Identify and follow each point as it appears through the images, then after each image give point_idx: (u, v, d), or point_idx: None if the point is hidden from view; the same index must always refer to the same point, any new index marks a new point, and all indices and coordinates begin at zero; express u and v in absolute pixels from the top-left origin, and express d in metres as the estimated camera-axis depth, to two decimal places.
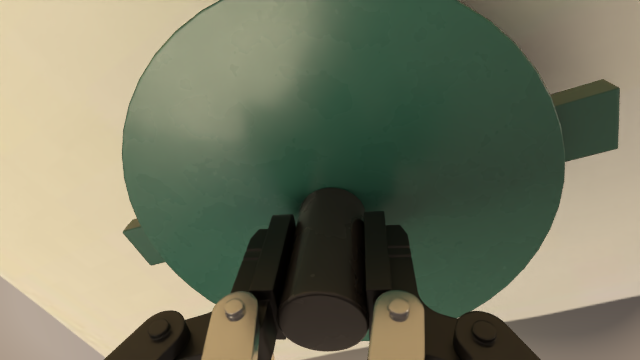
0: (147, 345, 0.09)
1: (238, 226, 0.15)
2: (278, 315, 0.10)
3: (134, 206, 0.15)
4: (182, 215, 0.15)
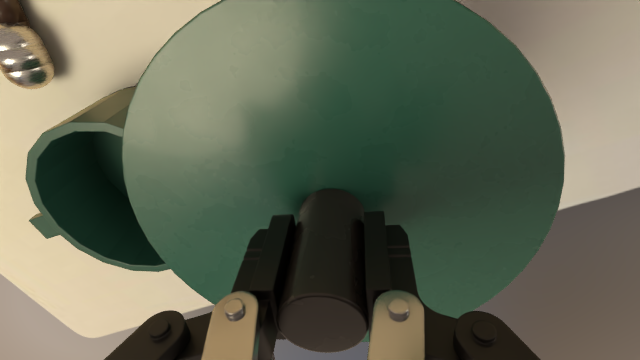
0: (147, 345, 0.09)
1: (238, 227, 0.15)
2: (277, 316, 0.10)
3: (134, 207, 0.15)
4: (182, 216, 0.15)
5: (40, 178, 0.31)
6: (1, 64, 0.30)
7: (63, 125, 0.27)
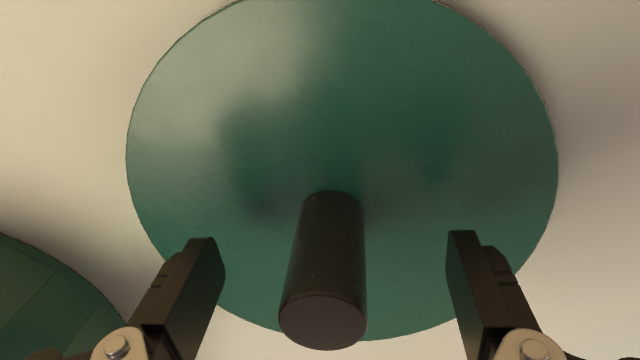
0: None
1: (239, 228, 0.15)
2: (279, 315, 0.10)
3: (137, 209, 0.15)
4: (184, 218, 0.15)
5: None
6: None
7: None
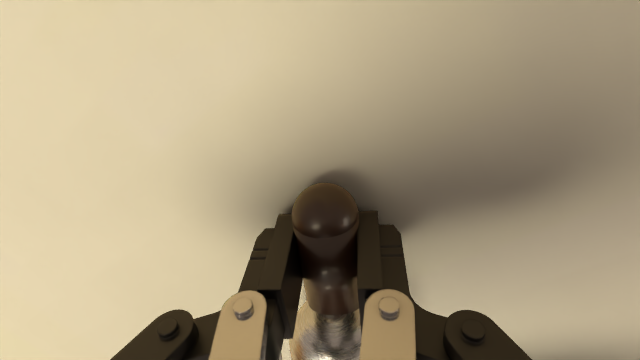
0: (156, 344, 0.09)
1: None
2: None
3: None
4: None
5: None
6: None
7: None
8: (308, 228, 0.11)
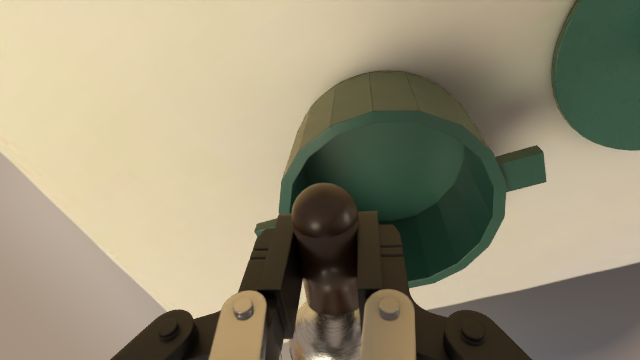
0: (156, 344, 0.09)
1: (621, 57, 0.26)
2: None
3: (561, 45, 0.26)
4: (589, 50, 0.26)
5: None
6: None
7: (363, 115, 0.22)
8: (308, 228, 0.11)
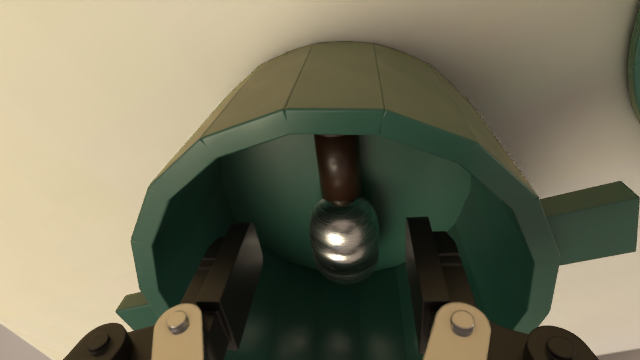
0: (88, 359, 0.09)
1: None
2: None
3: None
4: None
5: (159, 238, 0.14)
6: (334, 264, 0.19)
7: (263, 118, 0.10)
8: None
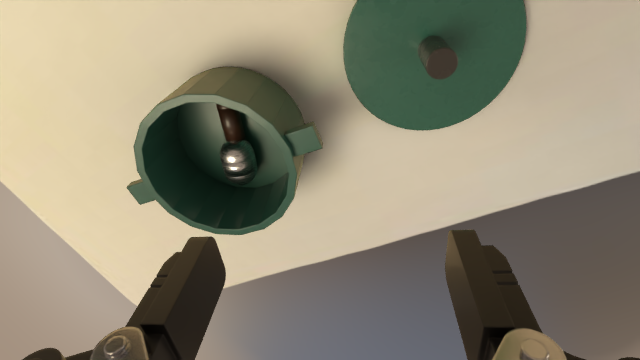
0: None
1: (388, 58, 0.35)
2: (427, 60, 0.30)
3: (344, 49, 0.35)
4: (365, 53, 0.35)
5: (145, 147, 0.35)
6: (230, 171, 0.40)
7: (177, 97, 0.31)
8: (220, 106, 0.38)
